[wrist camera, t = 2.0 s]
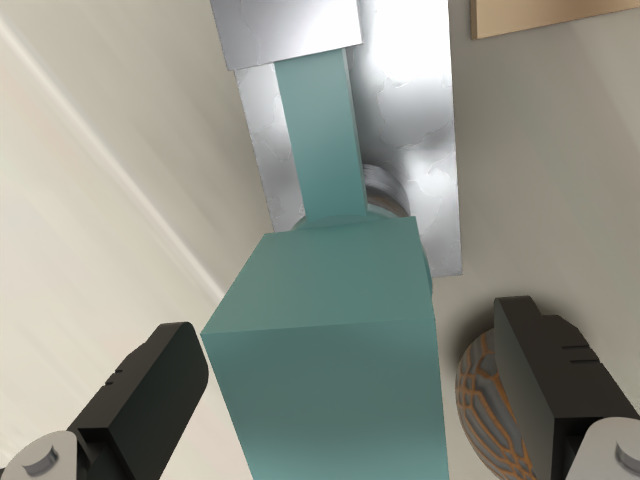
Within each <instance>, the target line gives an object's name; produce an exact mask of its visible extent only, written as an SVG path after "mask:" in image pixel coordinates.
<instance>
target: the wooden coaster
mask: <svg viewBox="0 0 640 480" xmlns="http://www.w3.org/2000/svg"><path fill="white" fill-rule="evenodd" d="M636 7H640V0H470V9H471V38H472V40H474V39H480V38H485V37H490V36H496V35H501V34H506V33H511V32H516V31H521V30H526V29H531V28H536V27H541V26H546V25H551V24H556V23H561V22H566V21H571V20H576V19H581V18H586V17H591V16H596V15H601V14H606V13H611V12H616V11H621V10H626V9H631V8H636Z"/></svg>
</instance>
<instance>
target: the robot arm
mask: <svg viewBox="0 0 640 480" xmlns="http://www.w3.org/2000/svg"><path fill="white" fill-rule="evenodd" d="M494 346H495V358H496V364H497V369H498V373H499V376H500V379H501V381H502V384H503V387H504V389H505V392H506V395H507V398H508V400H509V403H510V406H511V409H512V411H513V414H514V417H515V419H516V422H517V425H518V428H519V430H520V433H521V436H522V438H523V441H524V444H525V447H526V449H527V452H528V455H529V458H530V460H531V463H532V466H533V468H534V471H535V474H536V477H537V479H538V480H640V416H639V415H638V413H637V412H636V410H635V409H634V407H633V406H632V405H631V403H630V402H629V400H628V399H627V398H626V396H625V395H624V393H623V392H622V391H621V389H620V388H619V386H618V385H617V383H616V382H615V381H614V379H613V378H612V376H611V375H610V374H609V372H608V371H607V369H606V368H605V367H604V365H603V364H602V363H600V361H599V358H598V357H597V355H596V354H595V352H594V351H593V350H592V349H590V347H589V344H588V343H587V341H586V340H585V338H584V337H583V335H582V334H581V333H580V331H579V330H578V328H576V327H575V326H573V325H572V324H570V323H569V322H567V321H566V320H564V319H563V318H561V317H560V316H558V315H551V316H542V315H541V313H540V311H539V310H538V308H537V306H536V305H535V303H534V301H533V300H532V298H531V297H530V296H515V297H502V298H495V300H494ZM208 377H209V371H208V365H207V362H206V359H205V356H204V354H203V351H202V348H201V346H200V343H199V340H198V338H197V335H196V332H195V330H194V327H193V326H192V324H191V323H189V322H176V323H164V324H160V325H159V326H158V327H157V328H156V330H155V331H154V332H153V333H152V335H151V336H150V337H149V338H148V340H147V341H146V342H145V343H143V344H142V345H141V346H139V347H138V348H137V349H135V350H134V351H133V352H132V353H130V354H129V355H128V356H127V357H126V358H125V359H124V360H123V361H122V363H121V364H120V365H119V366H118V368H117V369H116V370H115V373H113V374H112V375H111V376H110V377H109V379H108V380H107V381H106V382H105V386H102V387H101V388H100V390H99V391H98V392H97V393H96V394H95V396H94V397H93V398H92V399H91V401H90V402H89V403H88V404H87V405H86V407H85V408H84V409H83V410H82V412H81V413H80V414H79V415H78V416H77V418H76V419H75V420H74V421H73V422H72V424H71V425H70V426H69V427H68V429H67V430H66V431H57V432H53V433H50V434H47V435H45V436H43V437H41V438H39V439H37V440H35V441H34V442H32V443H30V444H29V445H28V446H26V447H25V448H24V449H22V450H21V451H20V452H19V453H18V454H17V455H16V456H15V457H14V458H13V459H12V460H11V461H10V462H9V464H8V465H7V467H6V468H3V469H0V480H159V479H160V477H161V475H162V473H163V471H164V469H165V467H166V465H167V463H168V461H169V459H170V457H171V455H172V453H173V451H174V449H175V448H176V446H177V444H178V442H179V440H180V438H181V436H182V434H183V432H184V430H185V428H186V426H187V424H188V422H189V420H190V418H191V416H192V414H193V412H194V410H195V408H196V406H197V404H198V402H199V400H200V399H201V397H202V395H203V393H204V391H205V389H206V386H207V383H208Z"/></svg>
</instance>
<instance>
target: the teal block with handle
mask: <svg viewBox="0 0 640 480" xmlns="http://www.w3.org/2000/svg"><path fill="white" fill-rule="evenodd" d="M274 67H275V72H276V77H277V82H278V86H279V91H280V96H281V100H282V105H283V110H284V115H285V119H286V124H287V129H288V133H289V138H290V143H291V147H292V152H293V157H294V162H295V166H296V171H297V176H298V180H299V185H300V190H301V194H302V199H303V204H304V209H305V213H306V216H304V217H303V218H302V219H300V220H299V221H298V222H297V223H296V224H295V225H294V226H293V228H292V229H291V230H290V231H284V232H276V233H267V234H264V236H263V238H262V239H261V241H260V242H259V244H258V245H257V247H256V248H255V250H254V251H253V253H252V255H251V256H250V258H249V259H248V261H247V262H246V264H245V265H244V267H243V268H242V270H241V272H240V273H239V275H238V276H237V278H236V279H235V281H234V282H233V284H232V285H231V287H230V289H229V290H228V292H227V293H226V295H225V296H224V298H223V299H222V301H221V302H220V304H219V306H218V307H217V309H216V310H215V312H214V313H213V315H212V316H211V318H210V319H209V321H208V323H207V324H206V326H205V327H204V329H203V330H202V332H201V333H200V335H201V338H202V341H203V343H204V346H205V349H206V352H207V354H208V357H209V360H210V362H211V365H212V368H213V371H214V373H215V376H216V379H217V382H218V384H219V387H220V390H221V392H222V395H223V398H224V401H225V403H226V406H227V409H228V411H229V414H230V417H231V420H232V422H233V425H234V428H235V431H236V433H237V436H238V439H239V441H240V444H241V447H242V450H243V452H244V455H245V458H246V460H247V463H248V466H249V469H250V471H251V474H252V477H253V479H254V480H449V471H448V460H447V448H446V437H445V426H444V414H443V403H442V392H441V380H440V369H439V358H438V346H437V335H436V324H435V315H434V310H433V305H432V300H431V299H432V279H431V273H430V268H429V264H428V259H427V255H426V252H425V249H424V246H423V244H422V242H421V240H420V237H419V231H418V226H417V221H416V216H410V217H402V218H400V217H398V216H397V215H395V214H394V213H392V212H390V211H388V210H386V209H384V208H381V207H378V206H375V205H372V204H368V201H367V194H366V187H365V181H364V174H363V167H362V160H361V153H360V146H359V140H358V133H357V126H356V119H355V112H354V105H353V99H352V92H351V85H350V78H349V71H348V65H347V58H346V51H345V48H342V49H337V50H333V51H328V52H323V53H318V54H313V55H309V56H304V57H299V58H294V59H289V60H285V61H280V62H275V63H274Z"/></svg>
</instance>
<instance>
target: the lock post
mask: <svg viewBox="0 0 640 480" xmlns="http://www.w3.org/2000/svg"><path fill="white" fill-rule="evenodd" d="M210 3H211V7H212V11H213V15H214V19H215V23H216V27H217V30H218V34H219V38H220V42H221V46H222V50H223V54H224V58H225V62H226V66H227V70H228V71H233V70H234V73H235V77H236V81H237V85H238V89H239V93H240V97H241V101H242V105H243V109H244V113H245V117H246V121H247V125H248V129H249V133H250V137H251V141H252V145H253V149H254V153H255V157H256V161H257V165H258V169H259V173H260V177H261V181H262V185H263V189H264V193H265V197H266V201H267V205H268V209H269V213H270V217H271V221H272V225H273V229H274V233H276V232H284V231H290V230H291V229H292V228H293V226H294V225H295V224H296V223H297V222H298V221H299V220H300V219H302V218H303V217H304V216H306V213H305V209H304V204H303V199H302V194H301V190H300V185H299V180H298V176H297V171H296V166H295V162H294V157H293V152H292V147H291V143H290V138H289V133H288V129H287V124H286V119H285V115H284V110H283V105H282V100H281V96H280V91H279V86H278V82H277V77H276V72H275V67H274V63H275V62H280V61H285V60H289V59H294V58H299V57H304V56H309V55H313V54H318V53H323V52H328V51H333V50H337V49H342V48H345V51H346V58H347V65H348V71H349V78H350V85H351V92H352V99H353V105H354V112H355V119H356V126H357V133H358V140H359V146H360V153H361V160H362V167H363V174H364V181H365V187H366V194H367V201H368V204H372V205H375V206H378V207H381V208H384V209H386V210H388V211H390V212H392V213H394V214H395V215H397V216H398V217H400V218H402V217H410V216H416V221H417V226H418V231H419V237H420V240H421V242H422V244H423V246H424V249H425V252H426V255H427V259H428V264H429V268H430V273H431V278H433V277H444V276H456V275H462V259H461V241H460V222H459V204H458V185H457V167H456V148H455V129H454V111H453V92H452V74H451V55H450V37H449V18H448V0H210Z"/></svg>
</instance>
